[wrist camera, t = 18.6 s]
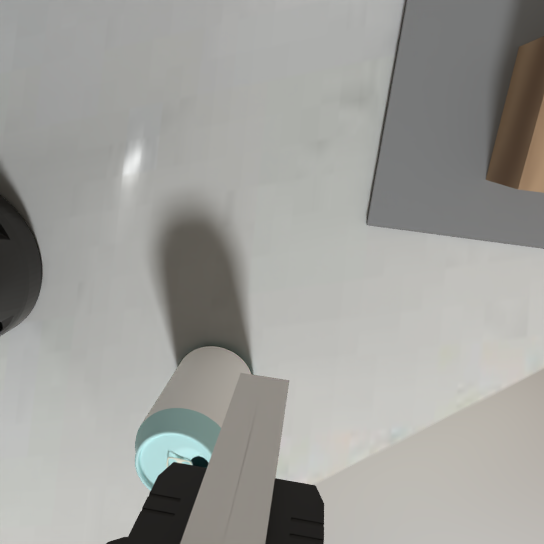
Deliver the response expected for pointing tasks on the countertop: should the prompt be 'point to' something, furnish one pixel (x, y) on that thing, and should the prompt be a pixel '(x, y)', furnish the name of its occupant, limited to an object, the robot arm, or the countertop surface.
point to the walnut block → (522, 125)
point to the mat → (454, 123)
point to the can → (188, 413)
